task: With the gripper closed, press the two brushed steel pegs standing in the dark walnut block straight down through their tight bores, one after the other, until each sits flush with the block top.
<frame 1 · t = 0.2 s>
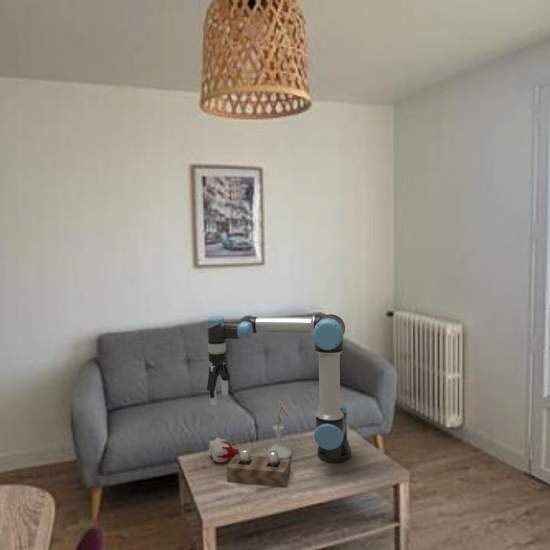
hand: (219, 399, 221), 28 cm above the table, fingers open, 13 cm apart
walnut block: (259, 476, 207), on the table
flower in vase: (279, 456, 226), on the table
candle: (223, 460, 223), on the table
steel peg b: (245, 456, 208), point 8 cm above the table, slide at 0.0 cm
steel peg a: (273, 458, 205), point 8 cm above the table, slide at 0.0 cm
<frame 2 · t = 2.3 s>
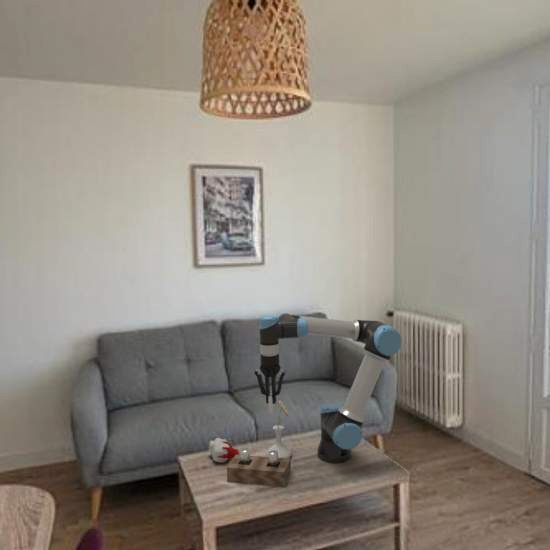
hand: (271, 411, 203), 28 cm above the table, fingers closed
nothing on the table moved.
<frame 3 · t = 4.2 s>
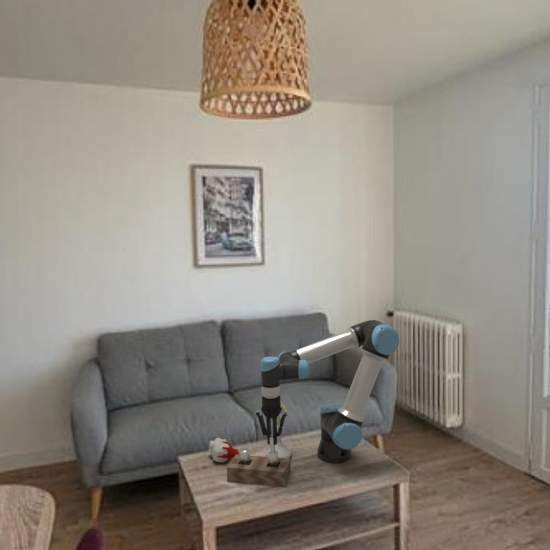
hand: (272, 451, 205), 11 cm above the table, fingers closed
steel peg a: (273, 458, 205), point 8 cm above the table, slide at 0.0 cm, touching gripper
everything else where it was.
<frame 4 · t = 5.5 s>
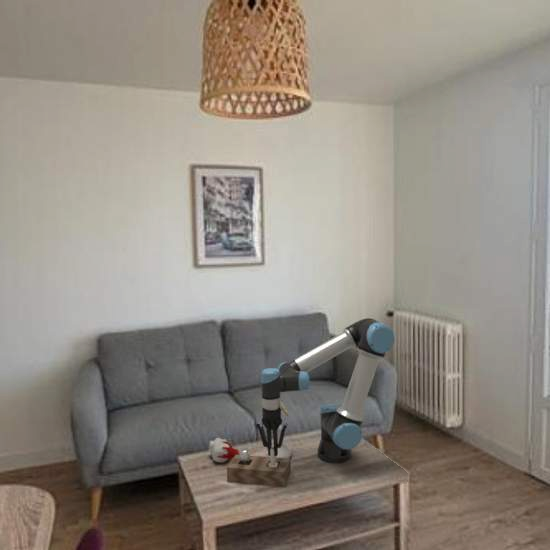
hand: (273, 463, 205), 6 cm above the table, fingers closed
steel peg a: (273, 470, 205), point 3 cm above the table, slide at 4.8 cm, touching gripper
everything else where it was.
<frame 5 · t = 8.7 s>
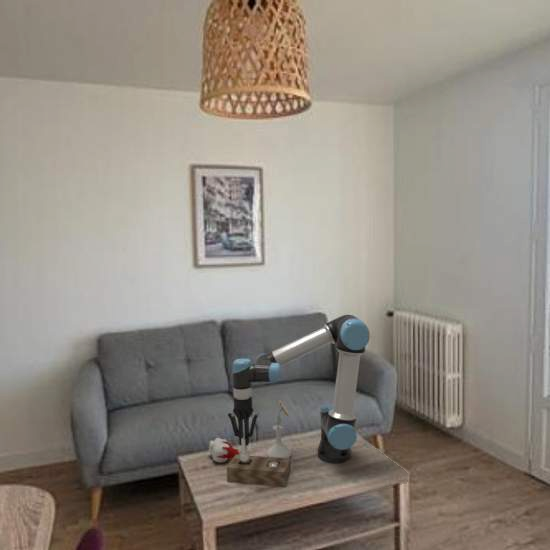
hand: (244, 452, 208), 10 cm above the table, fingers closed
steel peg b: (245, 459, 208), point 7 cm above the table, slide at 1.2 cm, touching gripper
steel peg a: (273, 470, 205), point 3 cm above the table, slide at 4.9 cm
everything else where it was.
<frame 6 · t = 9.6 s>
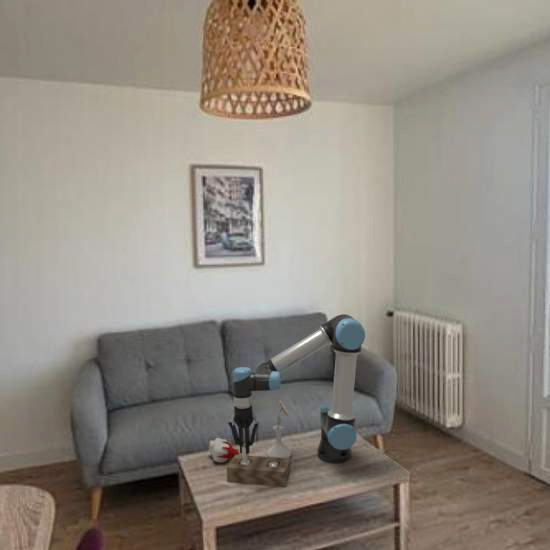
hand: (245, 460, 208), 6 cm above the table, fingers closed
steel peg b: (245, 467, 208), point 3 cm above the table, slide at 4.8 cm, touching gripper
everything else where it was.
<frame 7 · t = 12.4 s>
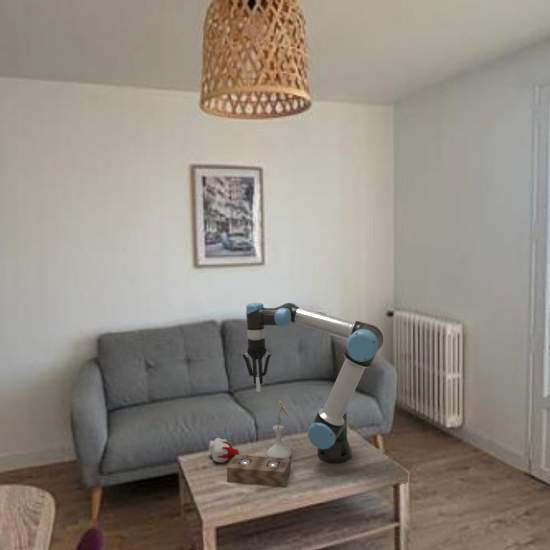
hand: (258, 390, 221), 31 cm above the table, fingers closed
steel peg b: (245, 467, 208), point 3 cm above the table, slide at 4.9 cm
everything else where it was.
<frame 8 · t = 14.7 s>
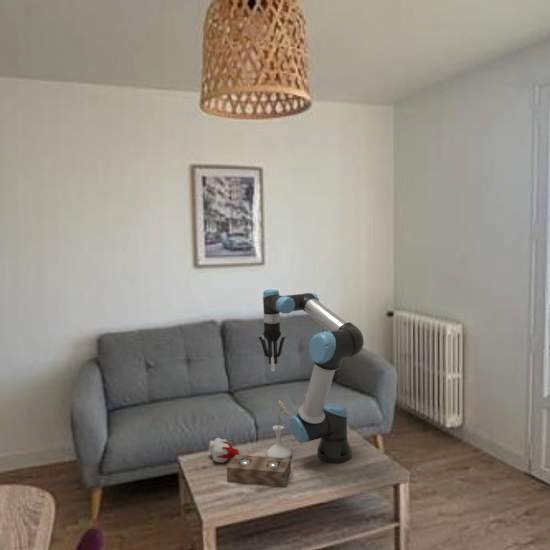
hand: (273, 370, 240), 34 cm above the table, fingers closed
nothing on the table moved.
at the end: steel peg a slide at 4.9 cm; steel peg b slide at 4.9 cm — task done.
